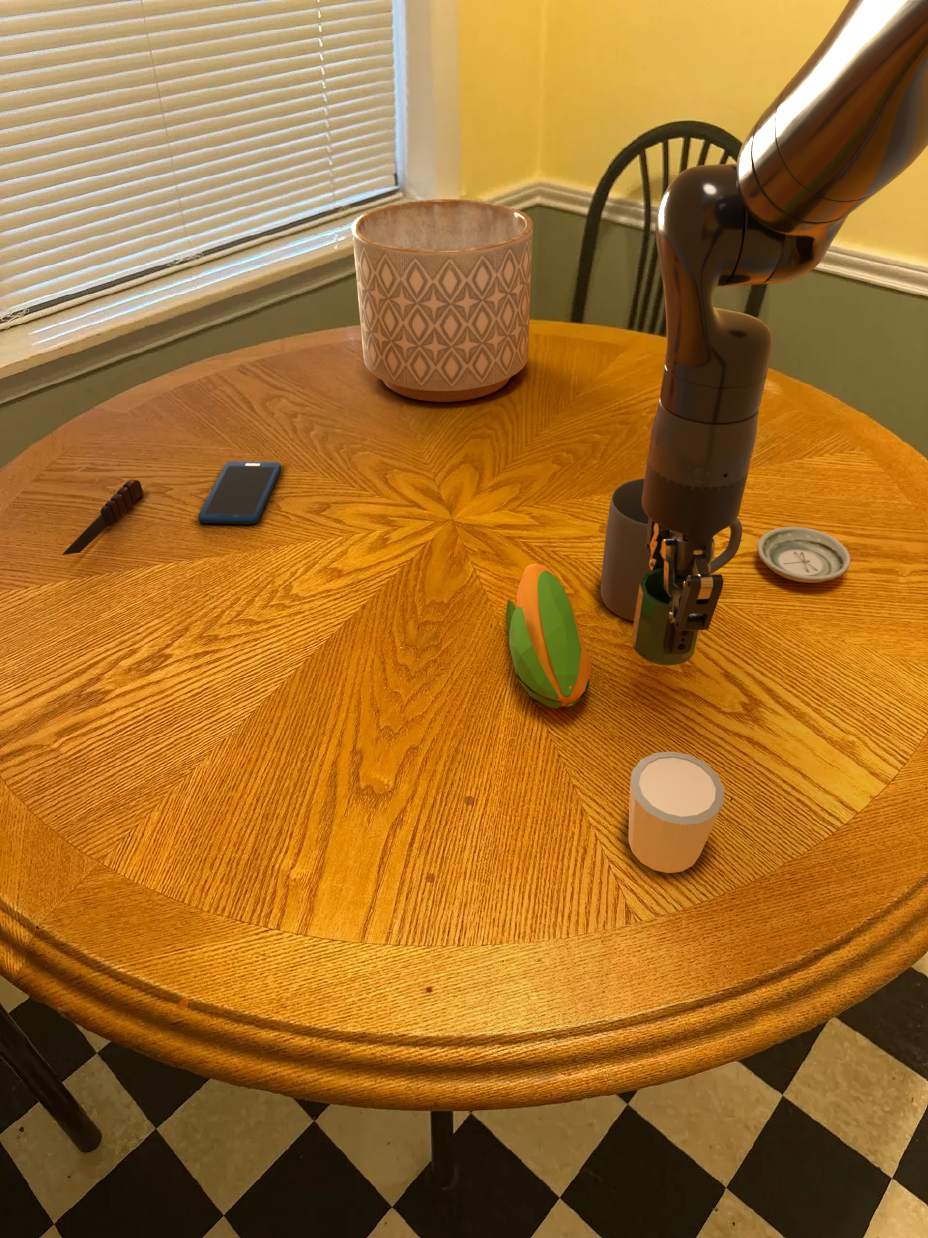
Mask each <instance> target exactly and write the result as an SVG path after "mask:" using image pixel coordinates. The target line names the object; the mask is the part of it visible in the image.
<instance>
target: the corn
mask: <svg viewBox="0 0 928 1238" xmlns="http://www.w3.org/2000/svg"><path fill="white" fill-rule="evenodd" d="M573 607H574V606H573V605H572V602H571V599H570V597H569V596H568V594H567V593H566V590H565V588H564V586H563V584H562V583H561V582H560V581H559V579H558V578H557V577H556V575H555V574H554V573H553V572H552V571H551V570H550V568H549V567H548V566H547V565H546V564H541V563H540V564H539V563H531V564H528V565H527V566H525V568H524V570H523V574H522V577H521V580H520V583H519V586H518V589H517V592H516V605H515V604H514V602H513V601H512V600H511V599H510V598H508V600H507V603H506V610H505V620H506V631H507V638H508V643H509V645H508V646H509V652H510V654H511V660H512V664H513V668H514V673H515V676H516V678H517V680H518V682H519V683H520V685H521V686H522V688H523V689H524V691H525V692H526V693H527V695H529V697H530V698H532V699H533V700H535V701H537V702H539V703H540V704H542V705H544V706H546V707H548V708H551V709H558V708H560V707H564V708H565V709H567V708H570V707H573V706H574V705H576V704H577V703H578V702H579V701H581V700H582V699H584V697H585V696H586V693H587V692H588V689H589V687H590V676H591V673H592V670H593V665H592V662H591V659H590V655H589V652H588V649H587V646H586V643H585V641H584V637H583V634H582V632H581V628H580V625H579V623H578V619H577V616H576V613H575V610H574V608H573Z"/></svg>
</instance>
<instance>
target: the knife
mask: <svg viewBox="0 0 928 1238" xmlns="http://www.w3.org/2000/svg"><path fill="white" fill-rule="evenodd" d="M141 483H142V482H141V481H140V480H139V479H129V480H127V481H126V482H125V483H124V484H123V485H122V486H121V487H120V488H119V489H118V490H117V491H116V493H115V494H113V495H112V497H111V498H110V499H109V500H107V502H105V504H104V505H103V506H102V507H101V508H100V514H99V515H98V516H97V517H96V518H95V519H94V520H93V521H92V522H91V523H90V524H89V526H87V527H86V529H84V531H82V533H81V534H80V535H79V536H78V537H77V538H76V539H75V540H73V542H72V543H71V544H70V545H69V546H68V547H67V548H66V550H64V551H63V553H62V554H61V555H62V556H66V555H72V554H73V555H74V554H79V553H81V552H82V551H83V550H84V549H86V547H88V546H89V545H90V544H91V543H92V542H93V541H94V540H95V539H96V538H97V537H99V535H100V534H102V532H104V531H105V530H106V529H107V528H109V527H112V526H114V525H115V524H116V523H118V521H119V520H120V519H121V518H122V516H124V515H125V513H126V512H127V511H128V510H129V509H130V508H131V507H132V506H133V504H135V503H136V502H137V500H138V499H140V498H143V497H144V490H143V487H142V484H141Z"/></svg>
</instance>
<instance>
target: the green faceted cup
mask: <svg viewBox="0 0 928 1238" xmlns="http://www.w3.org/2000/svg"><path fill="white" fill-rule="evenodd" d="M686 579H687V578H676V577H674V583H675V584H678V583H683V582H684V581H686ZM663 585H664V568H657V569H654V570H652V571H650V572H648V573H646V574H645V575H644V577H643V578H642V580H641V582H640V585H639V591H638V598H637V605H636V611H635V618H634V621H633V626H632V632H631V638H632V639H631V640H632V641H631V643H632V647H633V649H634V651H635V652H636V653H637V654H638V655H639V656H640V657H641V658H643V660H646V661H648V662H650V663H653V664H656V665H660V666H678V665H683V664H684V663H687V662H688V661H690V660H691V659H692V658H693V657H694V656H695V654H696V651H697V647H698V645H699V641H700V638H701V637H700V636H701V632H702V630H695V631H694V636H693V641H692V645H691V650H690V651H689V652H688V653H686V654H666V653H665V650H664V647H663V643H664V637H665V632H666V626H667V621H668V613H669V595H668V594H667V593H666V592H665V591H664V589H663ZM681 597H682V596H681ZM681 597H680V598H679V604H680V600H681Z"/></svg>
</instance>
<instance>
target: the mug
mask: <svg viewBox="0 0 928 1238" xmlns="http://www.w3.org/2000/svg"><path fill="white" fill-rule="evenodd" d="M644 479H645V477H644V478H636V479H633V480H629V481H626V482H624V483H622V484H620V485H619V486H617V488H615V490H614V491H613V493H612V494H611V498H610V503H609V507H608V514H607V515H608V516H607V520H606V521H607V522H606V530H605V539H604V547H603V554H602V555H603V556H602V566H601V576H600V596H601V600H602V602H603V604H604V606H605V607H606V608H607V609H608V610H609V611H610V612H612V613H613V614H614V615H616V616H618V617H620V618H623V620H627V621H630V622H634V618H635V611H636V605H637V598H638V591H639V585H640V582H641V580H642V578H643V577H644V575H645V574H646V573H648V572H650V571H652V570H651V569H650V566H649V561H650V557H651V552H650V553H648V552H647V549H646V541H647V530H648V520H649V517H648V516H647V514H646V513H645V511H644V509H643V507H642V493H643V486H644ZM729 530H730V533H729V539H728V543H727V545H726V547H725V549H724V550H723V551H722V552H721V553H720V554H719V555H717V556H716V557H714V558H713V560H712V561H711V568H710V574H715V572H717V571H719V570H720V569H722V568H723V567H724V566H726V565H727V564H729V562H731V561H732V559H734V557H735V556H736V555H737V553H738V552H739V549H740V546H741V542H742V539H743V525H742V522H741V520H740V519H739V518H738V517H737V519H736V520H735V521H734V523H732V524H731V525H730V526H729Z"/></svg>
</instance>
